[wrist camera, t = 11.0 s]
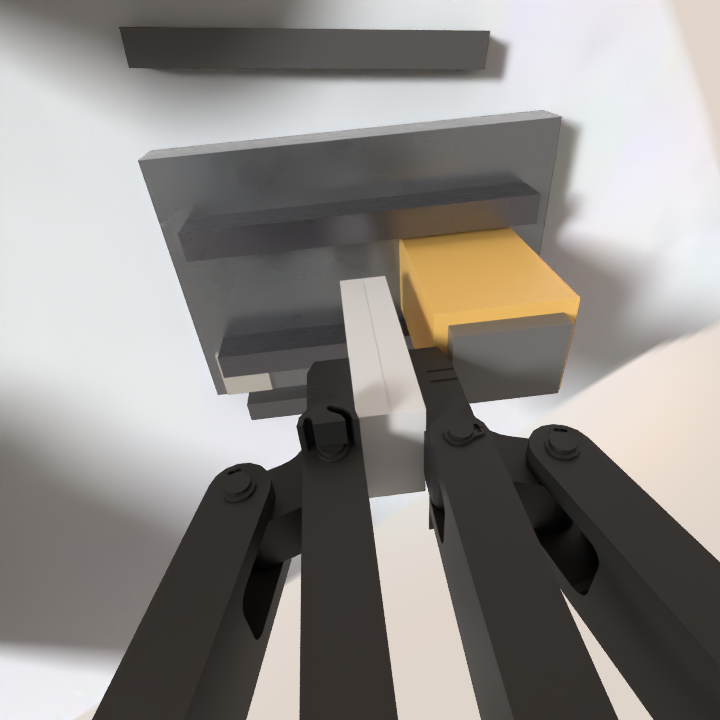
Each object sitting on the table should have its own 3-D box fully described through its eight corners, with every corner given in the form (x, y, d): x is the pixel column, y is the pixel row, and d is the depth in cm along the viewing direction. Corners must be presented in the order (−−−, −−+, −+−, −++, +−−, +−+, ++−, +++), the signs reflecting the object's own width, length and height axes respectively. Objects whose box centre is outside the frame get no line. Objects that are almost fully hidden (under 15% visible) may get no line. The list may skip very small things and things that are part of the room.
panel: (223, 374, 22) (212, 417, 20) (150, 150, 16) (122, 172, 14) (511, 341, 22) (535, 379, 20) (542, 110, 17) (583, 124, 14)
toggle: (400, 308, 19) (436, 417, 14) (398, 233, 17) (439, 326, 12) (496, 297, 19) (568, 401, 14) (504, 222, 17) (592, 308, 12)
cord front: (139, 65, 15) (129, 68, 14) (130, 27, 14) (119, 26, 13) (475, 67, 16) (484, 69, 15) (480, 30, 15) (490, 30, 14)
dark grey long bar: (253, 406, 23) (251, 420, 23) (249, 391, 23) (247, 404, 22) (487, 378, 24) (493, 391, 23) (488, 363, 23) (495, 375, 22)
